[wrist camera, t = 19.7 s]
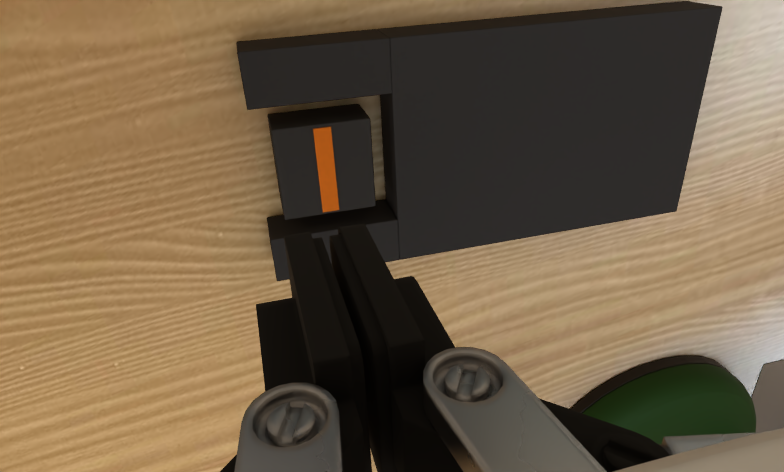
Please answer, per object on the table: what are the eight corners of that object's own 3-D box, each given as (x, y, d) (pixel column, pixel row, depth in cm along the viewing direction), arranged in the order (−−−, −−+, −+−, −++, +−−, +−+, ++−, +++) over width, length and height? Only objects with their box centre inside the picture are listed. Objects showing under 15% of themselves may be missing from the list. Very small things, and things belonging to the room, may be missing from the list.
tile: (267, 114, 34) (270, 130, 31) (359, 103, 35) (370, 118, 32) (280, 198, 36) (284, 221, 33) (365, 186, 37) (376, 207, 35)
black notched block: (273, 256, 38) (277, 281, 35) (236, 41, 31) (237, 52, 29) (648, 194, 44) (676, 211, 41) (686, 1, 37) (723, 6, 34)
